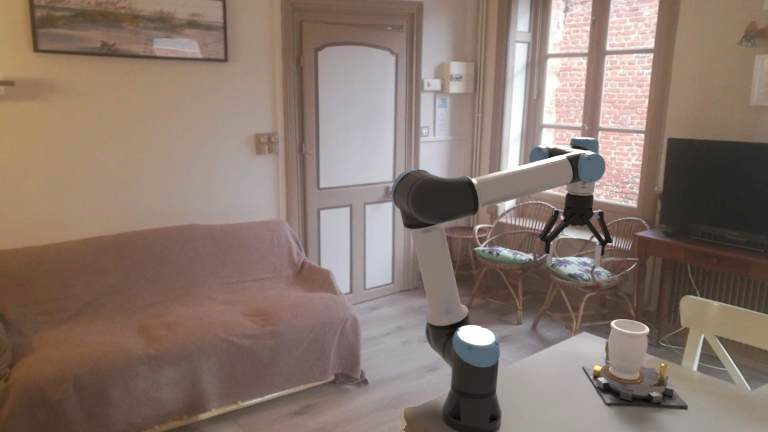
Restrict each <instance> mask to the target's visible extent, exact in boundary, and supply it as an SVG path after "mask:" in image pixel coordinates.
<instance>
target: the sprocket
mask: <svg viewBox="0 0 768 432" xmlns="http://www.w3.org/2000/svg"><path fill="white" fill-rule="evenodd" d="M594 366H595V367H594V369H593V376H597V377H599V378H597V383H596V385H598V386H599V387H600V388H601V389H610V390H611V391H613V392H615V393H618V394H620V398H623V399H626V400H630V401H632V398H636V399H648V400H649V401H651V402H652V403H656V402H662V397H663V395H664V394H666V395H670V396H672V395H673V391H675V389H674V388H675V385H674V384H672V383H668V379H669V375H667V369H668V364H666V363H662V362H661V363H660V365H659V369H658V371H657V372H655V371H653V370H651V369H648V368H649V367H645V364H644V363H643V365H642V367H641V369H640V370H639V371H638V372H639V375H640V376H639V378H637V379H635V380H625V379H621V378H618V377H615V376H614V375H612V374H611V373H610V372H609V368H610V367H611V364H610V361H609V360H606V361H605V365H602V366H603V367H600V366H601V365H594Z"/></svg>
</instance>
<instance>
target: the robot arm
mask: <svg viewBox="0 0 768 432" xmlns="http://www.w3.org/2000/svg"><path fill="white" fill-rule="evenodd" d="M599 144H600V143H599V139H597V138H595V137H586V136H585V137H584V136H575V137H574V136H573V137H572V138H571V139H570V143H569V144H566V145H565V144H562V145H561V144H560V145H559V144H543V145H542V144H541V145H535V146H534V147H532V149H531V151H530V153H529V160H528V163H527V164H526V163H525V164H522V165H518V166H514V167H510V168H506V169H503V170H500V171H495V172H491V173H487V174H484V175H480V176H477V177H470V176H468V175H463V176H460V177H442V176H438V175H436V174H432V173H430V172H429V171H427V170H424V169H417V168H411V169H408V170H405V171H403V172H402V173H400V174H399V175H398V176H397V177H396V179H395V180H394V182H393V184H392V187H391V200H392V202H393V204H394V205H395V206H396V208H397V209H398V210H399V212H400V215H401V220H402V224H403V227H404V229H406V230H408V231H409V232H411V236H412V241H413V246H414V249H415V250H414V251H415V254H416V258H417V262H418V265H419V270H420V273H421V278H422V283H423V287H424V291H425V295H426V299H427V304H428V308H429V311H428V312H427V314H426V317H425V318H426V324H425V328H424V329H425V330H424V332H425V338H426V340H427V342H428V344H429V346H430V348H431V349H432V350H433V351H435V352H436V353H437V354H438V356H440V357H441V358H442V359H443V360H444V361H445V363H446V364H447V365H448V366H449V367H450V368H451V378H450V379H451V380H450V389H449V391H448V393H447V396H446V398H445V401H444V403H443V406H442V419H443V421H444V422H445V423H446V424H447V426H449V427H450V428H452V429H453V430H456V431H459V432H494V431H495V430H497V429H498V428H499V427H500V426H501V424H502V410H501V406H500V403H499V399H498V395H497V387H498V373H499V363H500V361H499V360H500V357H501V350H500V340H499V338H498V336H497V335H496V334H495V333H494V332H493V331H492V330H490V329H489V328H486V327H482V326H481V325H474V324H472V322H471V318H470V314H469V310H468V307H467V306H466V305H464V304H462V303H461V298H460V293H459V289H458V285H457V281H456V280H457V279H456V275H455V271H454V268H453V263H452V257H451V254H450V253H451V252H450V248H449V244H448V240H447V234H446V231H445V226H444V224H445V223H451V222H453V221H457V220H462V219H465V218H468V217H471V216H475V215H476V216H477V215H478V213H479V212H480V210H481V209H485V208H488V207H492V206H495V205H499V204H503V203H506V202H510V201H513V200H517V199H520V198H524V197H527V196H530V195H535V194H538V193H542V192H545V191H549V190H553V189H556V188H560V187H563V186H566V188H565V191H567V192H566V193H565V199H564V208H563V209H557V208H556V207H555V208H553V209H552V212H551V216H550V217H549V220H548V221H547V222H546V224H545V225H544V227H543V229H542V230H541V232H540V234H539V236H538V239H539V240H540V241H541V242H544V249H543V250H544V251H543V252H544V254H546V265H547V266H549V267H552V263H553V252H554V243H553V241H554V240H555V239H556V238H557V237H558V236H560V234H561V233H562V232H563V231H564V230H565V229H566V228H568V227H569V226H573V227H575V226H578V227H584V226H586V227H587V228H588V230H589V231H590V233H592V235H593V237H594V238H595V239H596V240H597V241H598V242H596V243H595V247H594V258H593V266H594V267H595V268H597V269H598V268H599V269H600V265H601V257H604V255H605V250H606V249H605V248H606V246H607V244H612V243H613V239H612V238H613V237H612V236H611V234H610V231H609V228H608V227H607V226H608V225H607V224H606V222H605V213H604V211H602V210H601V209H597V210H593V206H594V197H595V195H594V193H595V187H596V183H597V182H598V181H600V180H601V179H602V178H603V176H604V174H605V171H606V161H605V159H604V157H603V156H602V155H601V154H599V151H600V149H599V148H600V145H599ZM561 216H563V217H564V218H563V219H562V220H561V221H560V223H558V225H556V226H555V224H556V222H557V221H558V219H559V218H560V217H561ZM593 217H594V218H596V220H597V223H598V225H599V227H600V229H601V230H600V231H601V233H602V234H603V237H602V235H601V234H600V233H599V231H598V230H597V229H596V227H595V226H594V225H593V223H592V222H591V219H592V218H593ZM554 226H555V227H554ZM553 227H554V229H553Z"/></svg>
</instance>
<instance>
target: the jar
mask: <svg viewBox="0 0 768 432" xmlns="http://www.w3.org/2000/svg"><path fill="white" fill-rule="evenodd" d="M610 328H611V330H610V333H609V337H608V339H609V342H608V350H609V360H608V361H610V364H611V367H610V368H609V372H610V373H611V374H612V375H614V376H615V377H618V378H621V379H625V380H635V379H637V378H639V376H640V375H639V372H638V371H639V370H640V369H641V367H642V365H643V364H644V362H645V357H646V355H647V352H648V335H649V333H650V328H649V327H648V326H647V325H646V324H644V323H642V322H640V321H635V320H631V319H623V318H622V319H621V318H620V319H619V318H618V319H615V320H611V322H610Z"/></svg>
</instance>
